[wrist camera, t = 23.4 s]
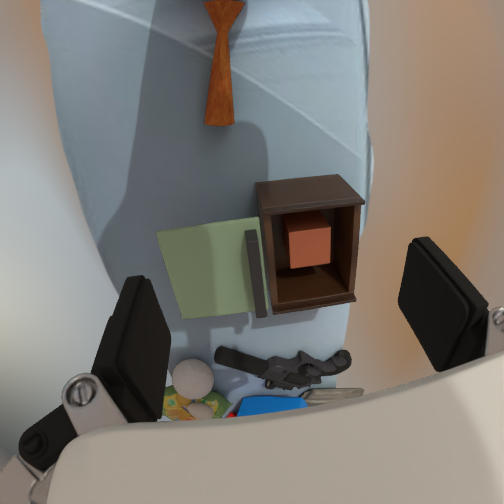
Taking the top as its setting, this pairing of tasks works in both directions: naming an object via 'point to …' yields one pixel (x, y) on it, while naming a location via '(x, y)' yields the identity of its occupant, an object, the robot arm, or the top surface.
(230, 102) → the kendama
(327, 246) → the terracotta block
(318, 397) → the stone
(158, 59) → the top surface
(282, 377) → the revolver
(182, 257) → the sliding lid
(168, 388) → the educational model
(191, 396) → the beige rounded piece
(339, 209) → the walnut box
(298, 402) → the blue toy gun
